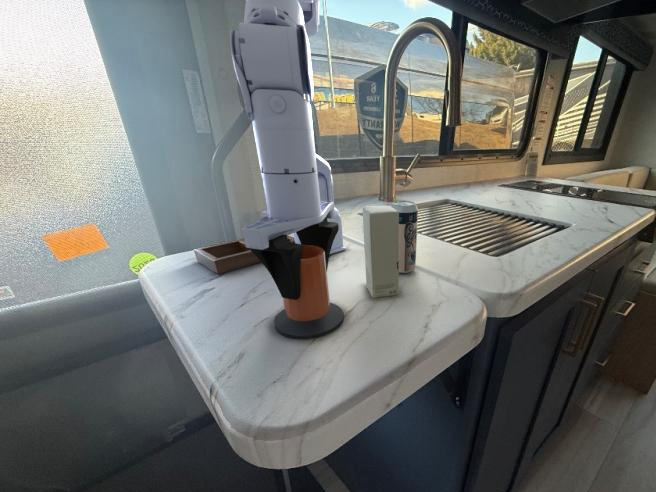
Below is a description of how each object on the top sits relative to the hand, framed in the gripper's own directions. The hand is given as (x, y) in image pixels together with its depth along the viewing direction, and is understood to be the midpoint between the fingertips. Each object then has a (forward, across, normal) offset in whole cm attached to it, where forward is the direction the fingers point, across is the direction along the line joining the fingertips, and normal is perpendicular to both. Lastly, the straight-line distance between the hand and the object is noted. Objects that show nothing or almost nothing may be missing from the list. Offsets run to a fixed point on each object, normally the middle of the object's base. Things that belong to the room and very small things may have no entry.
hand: (305, 286), depth 40 cm
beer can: (+5, -21, +6) cm, 23 cm away
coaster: (+5, 0, 0) cm, 5 cm away
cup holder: (+5, -18, -24) cm, 30 cm away
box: (+5, -12, +6) cm, 14 cm away
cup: (+3, 0, 0) cm, 3 cm away
